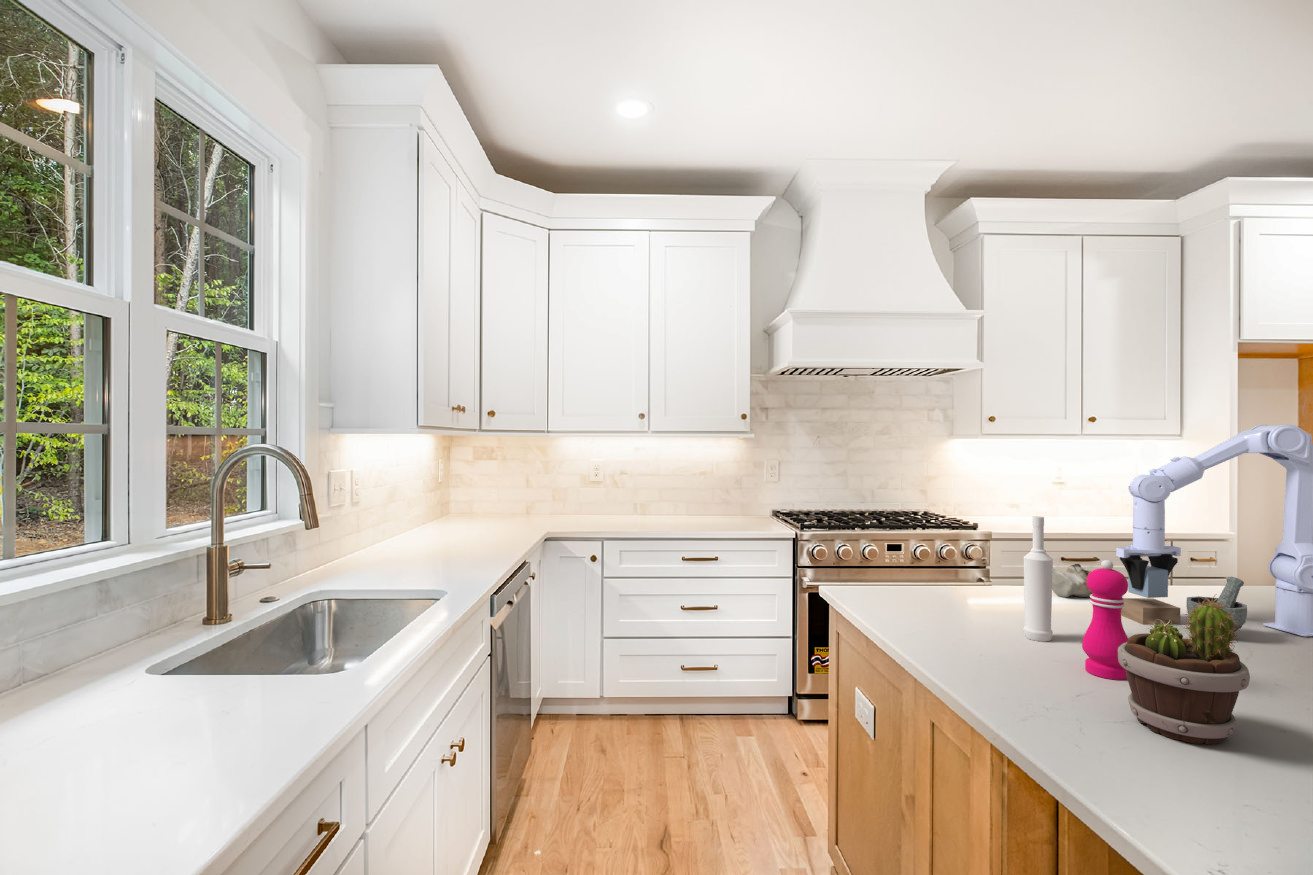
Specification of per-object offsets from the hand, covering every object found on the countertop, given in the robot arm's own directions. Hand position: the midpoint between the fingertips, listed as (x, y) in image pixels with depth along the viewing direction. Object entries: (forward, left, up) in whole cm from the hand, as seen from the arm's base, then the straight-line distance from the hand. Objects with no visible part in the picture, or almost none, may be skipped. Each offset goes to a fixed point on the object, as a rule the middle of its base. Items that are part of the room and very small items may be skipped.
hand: (1148, 588), depth 144 cm
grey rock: (-1, -20, -7) cm, 22 cm away
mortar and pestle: (-4, +12, -7) cm, 15 cm away
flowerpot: (+43, +47, -7) cm, 64 cm away
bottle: (+34, +8, -7) cm, 36 cm away
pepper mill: (+36, +27, -7) cm, 46 cm away
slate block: (0, 0, -2) cm, 2 cm away
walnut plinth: (0, 0, -7) cm, 7 cm away
